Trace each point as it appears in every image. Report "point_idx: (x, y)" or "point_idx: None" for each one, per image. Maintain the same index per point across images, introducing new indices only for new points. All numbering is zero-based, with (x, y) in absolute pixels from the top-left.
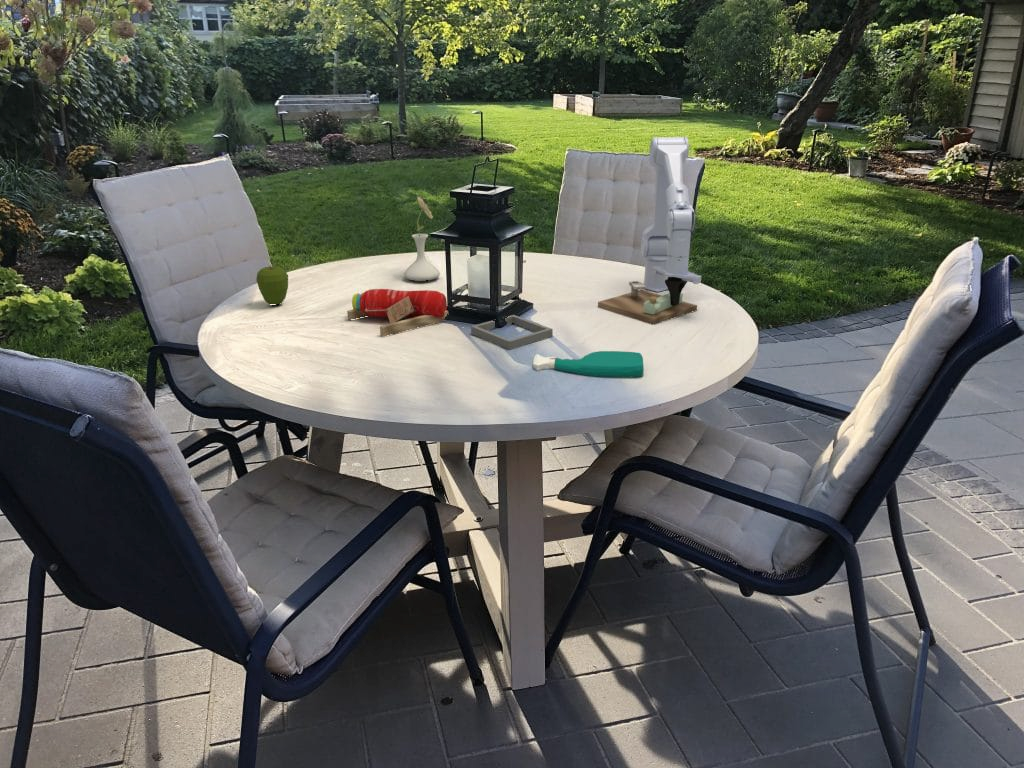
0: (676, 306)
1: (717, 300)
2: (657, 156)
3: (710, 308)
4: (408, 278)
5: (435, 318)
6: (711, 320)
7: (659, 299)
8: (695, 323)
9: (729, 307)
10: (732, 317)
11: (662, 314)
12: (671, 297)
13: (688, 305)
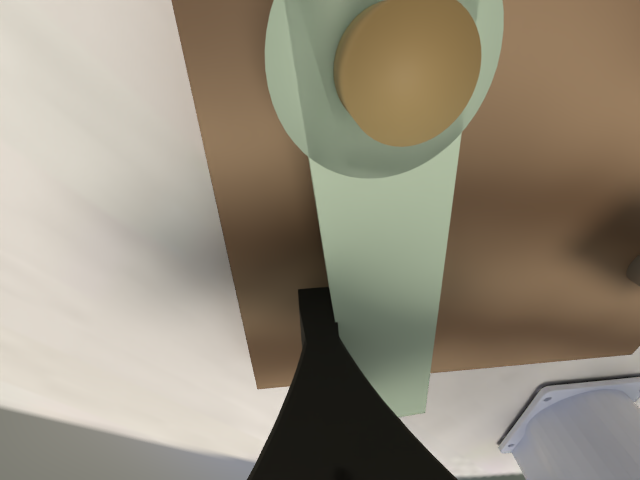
0: None
1: None
2: None
3: (248, 406)
4: None
5: None
6: (73, 324)
7: (395, 236)
8: (43, 224)
9: (215, 445)
10: (85, 402)
11: (233, 87)
12: (322, 333)
13: (285, 363)
